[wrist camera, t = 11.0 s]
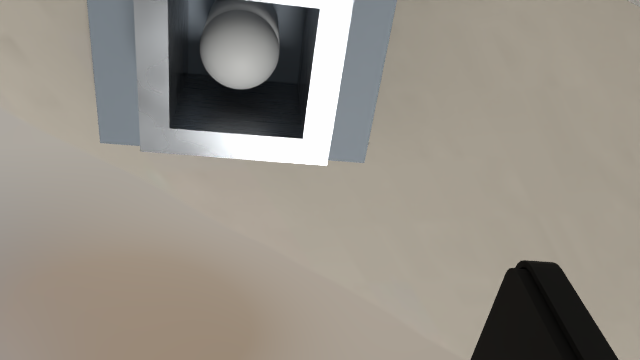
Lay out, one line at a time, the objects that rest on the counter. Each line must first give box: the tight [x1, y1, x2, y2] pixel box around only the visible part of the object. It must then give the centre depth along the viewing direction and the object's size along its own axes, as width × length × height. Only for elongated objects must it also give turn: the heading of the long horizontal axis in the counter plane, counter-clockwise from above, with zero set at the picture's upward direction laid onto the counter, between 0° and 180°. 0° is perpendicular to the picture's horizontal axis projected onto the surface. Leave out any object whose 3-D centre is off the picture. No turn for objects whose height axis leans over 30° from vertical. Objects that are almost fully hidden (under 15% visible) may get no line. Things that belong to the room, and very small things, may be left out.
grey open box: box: [133, 0, 354, 166], centre depth 20 cm, size 7×7×5 cm
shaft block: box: [87, 0, 397, 163], centre depth 21 cm, size 12×12×7 cm
